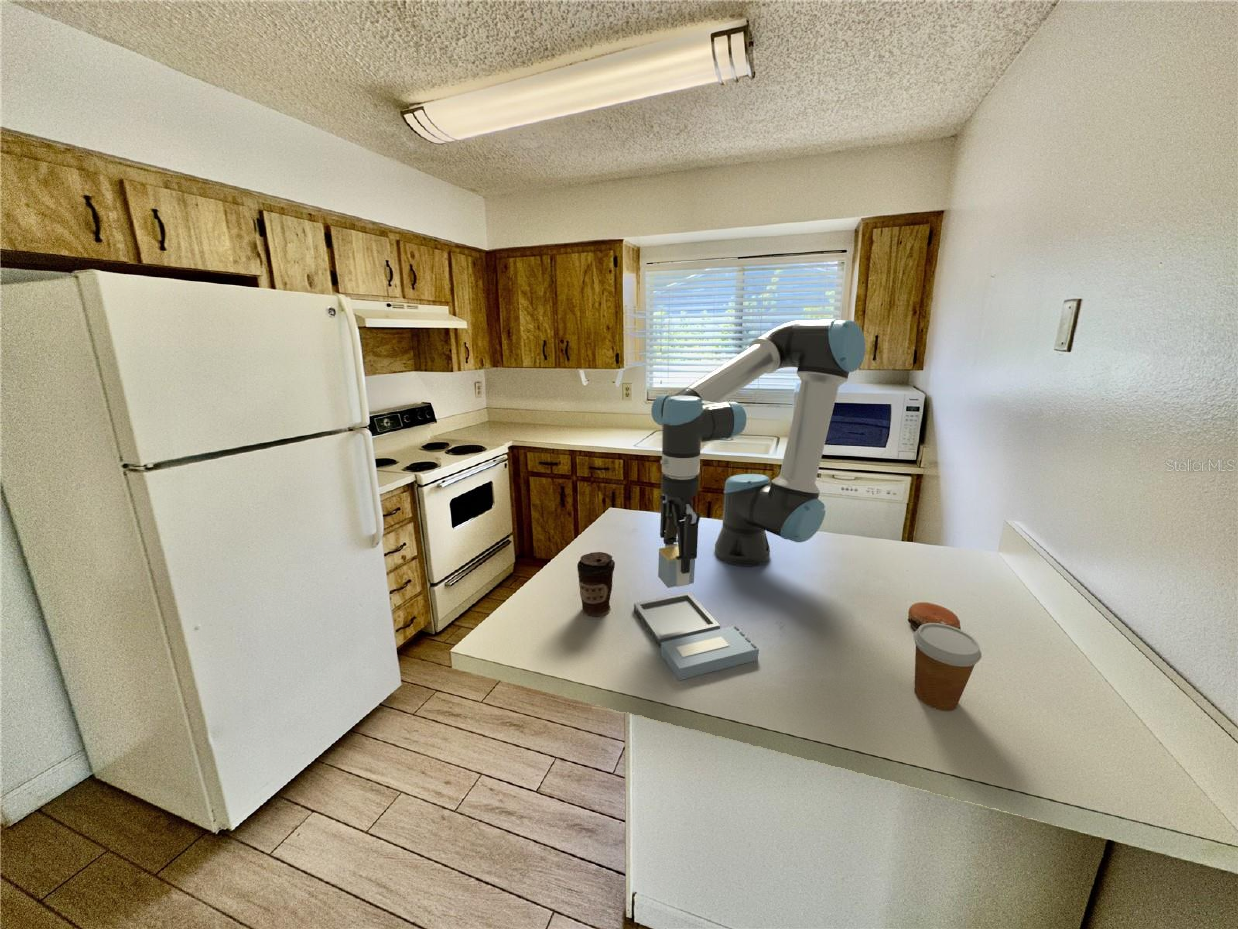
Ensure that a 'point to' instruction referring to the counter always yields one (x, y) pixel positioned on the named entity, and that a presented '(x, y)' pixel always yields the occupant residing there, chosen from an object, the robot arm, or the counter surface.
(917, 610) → the burger
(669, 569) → the yellow topped blue block
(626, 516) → the counter surface
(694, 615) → the tray
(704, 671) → the blue labeled box
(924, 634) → the disposable coffee cup
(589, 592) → the coffee cup
